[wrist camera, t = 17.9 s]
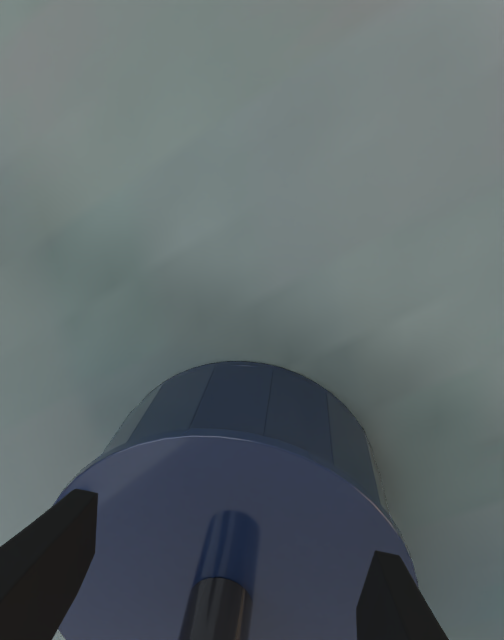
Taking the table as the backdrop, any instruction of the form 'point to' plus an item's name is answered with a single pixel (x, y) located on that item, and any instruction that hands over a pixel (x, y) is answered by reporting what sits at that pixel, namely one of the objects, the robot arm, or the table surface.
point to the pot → (258, 414)
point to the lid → (225, 541)
